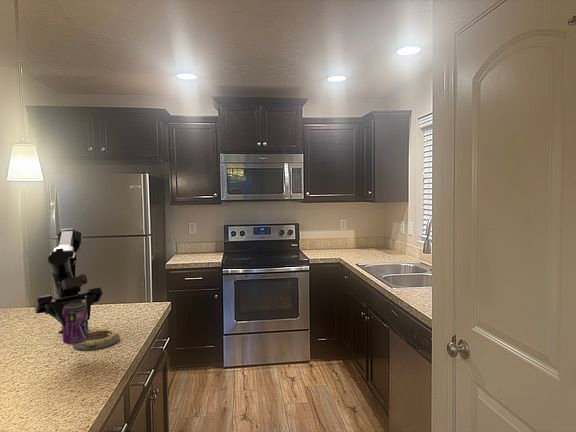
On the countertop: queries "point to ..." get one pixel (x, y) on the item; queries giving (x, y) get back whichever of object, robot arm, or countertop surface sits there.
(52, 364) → the countertop surface
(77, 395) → the countertop surface
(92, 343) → the carrier plate
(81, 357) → the countertop surface
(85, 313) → the beverage can
